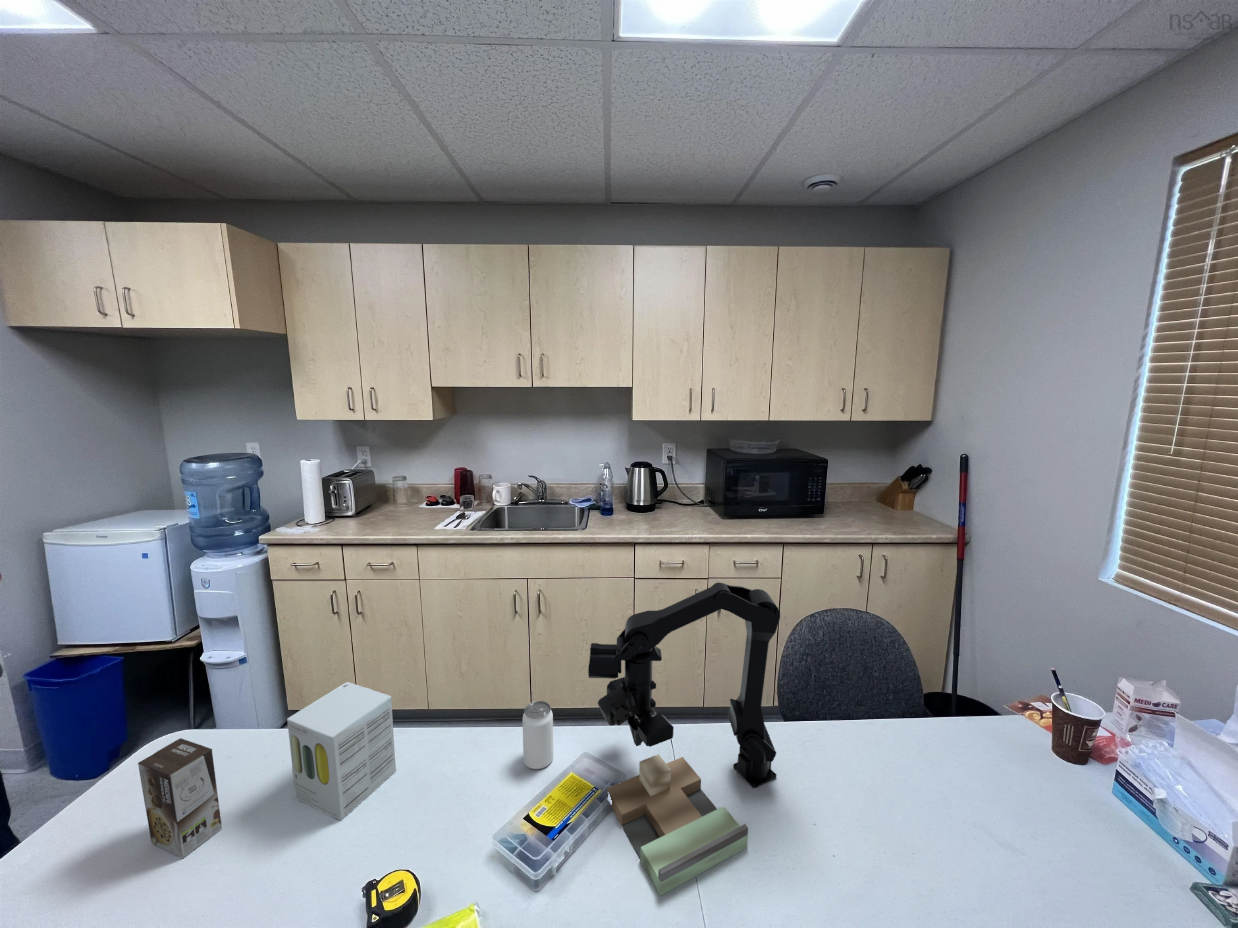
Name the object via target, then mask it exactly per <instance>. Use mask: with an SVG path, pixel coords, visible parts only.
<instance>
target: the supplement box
mask: <svg viewBox="0 0 1238 928" xmlns="http://www.w3.org/2000/svg"><path fill="white" fill-rule="evenodd" d="M286 721H287V728H288V729H287V731H288V739H289V748H290V758H291V768H292V776H293V778H292V779H293V786H294V794H295V795H294V797H295V799H296V800H298V801H301V802H302V803H305V804H306V805H308V806H310V807H312V808H314V809H316V810H318V811H320V812H322V813H324V814H326V815H328V816H330V817H332V818H334V819H336V820H338V821H342V820H343V819H344V818H345V817H347V816H348V815H349V814H350V813H351V812H352V811H353V810H355V808H357V807H358V806H359V805H360V804H361V803H362V802H363V801H365V800H366V798H368V797H369V796H371V794H372V793H374V791H376V790H377V789H378V788H379V787H380V786H381V785H382V784H383V783H385V782H386V781H387V780H388V779H389V778H391V777H392V776H393V774H394V773H396V772H397V767H396V766H397V764H396V753H395V752H396V751H395V738H394V725H393V724H394V723H393V703H392V696H391V695H390V694H386V693H383V692H379V691H377V690H373V689H371V688H370V687H365V686H361V685H358V684H356V683H352V682H350V681H346V682H345V683H343V684H341V685H339V686H338V687H336V688H334V689H333V690H331V691H330V692H328V693H326V694H325V695H323V696H321V697H320V698H318V699H317V700H315V701H314V702H312V703H310V704H309V705H307V706H305V707H304V708H302V709H300V710H298V711H297V712H295V713H293V715H291V716H289V717H287V718H286Z"/></svg>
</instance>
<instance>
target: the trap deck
mask: <svg viewBox="0 0 1238 928" xmlns="http://www.w3.org/2000/svg"><path fill="white" fill-rule="evenodd" d="M666 764H667V765H668V767H669V768H670V769H671V778H670V788H669V789H666V790H664V791H662V792H660V793H657V794H655V795H653V796H650V795H649V793H648V792H647V790H646V789H645V787H644V786H643V784H642V783H641V781H640V780H639V774H638V775H636V776H633V777H630V778H629V779H625V780H624V781H620V782H618V783H616V784H614V785H612V786H611V785H610V786H609V787H607V788H606V791H607V790H608V792H609V794H610V797H611V800H612V805H611V806H610V807H611V809H612V811H613V813H614V816H616V818H617V820H618V822H619V824H620V825H621V827H622V829H623V831H624V833H625V834H626V835H625V836H627V838H628V840H629V842H630V843H631V846H632V847H633V849H634V851H635V853H636V854H637V856H638V858H639V859H640V861H641V864H642V866H643V867H644V869H645V870H646V872H647V874H648V876H649V878H650V879H651V881H652V883H653V885H654V887H655V889H656V891H657V892H658V894H659V896H663V895H665V894H666V893H668V892H670V891H672V890H673V889H675V888H677V887H680V886H681V885H683V884H684V883H686V882H688V881H691V880H692V879H693V878H695V877H697V876H699V875H700V874H702V873H704V872H706V871H707V870H709V869H711V868H713V867H715V866H716V865H718V864H720V863H722V862H723V861H725V860H727V859H729V858H731V857H732V856H734V855H737V854H738V853H740V852H741V851H743V850H745V849H747V848H748V837H749V836H748V833H749V827H748V825H747V824H745V823H744V824H742V825H740V824H739V823H738V822H737V820H736V819H735V818H734V817H733V816H732V814H731V813H730V812H729V811H728V810H727V808H726V807H725V806H724V805H722V806H721V807H719V808H717V807H716V806H715V804H714V803H713V802H712V800H711V799H710V798H709V797H708V796H707V795H706V794H705V792H704V791H703V790H702V778H701V777H700V776H699V774H697V773H696V771H695V770H694V768H692V766H691V765H690V764H689V763H688V761H687V760H686V759H685V758H684V757H683V756H681V757H679V758H677V759H674V760H672V761H669V762H667V763H666ZM619 783H620V784H619Z"/></svg>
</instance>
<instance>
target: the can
mask: <svg viewBox="0 0 1238 928" xmlns="http://www.w3.org/2000/svg"><path fill="white" fill-rule="evenodd" d="M551 708H552V707H551V705H550V703H548V702H547V701H544V700H536V701H531V702H530V703H528V704H527V705H526V706H525V708H524V713H523V715H522V743H523V744H522V749H523V751H522V752H523V763H524V764H525V766H526V767H527V768H529V769H530V770H531V769H532V770H542V769H545V768H546V767H548V766H549V765H550V764H551V763H552V762H553V760H554V716H553V714H554V713H553V711H552V709H551Z"/></svg>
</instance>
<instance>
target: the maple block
mask: <svg viewBox="0 0 1238 928" xmlns="http://www.w3.org/2000/svg"><path fill="white" fill-rule="evenodd" d="M638 768H639V769H638V772H639V774H638V775H639V780H640V781H641V783H642V784H643V786H644V787H645V789H646V790H647V792H648V793H649V795H650V796H653V795H655V794H657V793H660V792H662V791H664V790H666V789H669V788H670V778H671V769H670V768H669V767H668V765H667V763H666V762H665V760H664V759H663V758H662V756H661V755H660V753H658V754H655V755H653V756H650V757H647V758H645V759H642V760H640V761H639V767H638Z"/></svg>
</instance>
